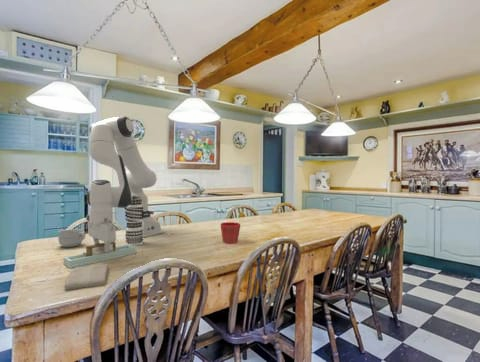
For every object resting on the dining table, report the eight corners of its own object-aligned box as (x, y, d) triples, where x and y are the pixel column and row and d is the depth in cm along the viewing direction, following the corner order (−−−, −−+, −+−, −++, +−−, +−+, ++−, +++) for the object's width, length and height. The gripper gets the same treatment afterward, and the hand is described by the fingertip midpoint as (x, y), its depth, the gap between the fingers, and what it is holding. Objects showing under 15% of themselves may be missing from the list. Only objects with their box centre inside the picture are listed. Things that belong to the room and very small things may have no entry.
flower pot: (241, 239, 153) (241, 222, 152) (239, 244, 142) (239, 225, 142) (222, 239, 154) (222, 221, 154) (218, 244, 143) (218, 225, 143)
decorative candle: (131, 246, 137) (130, 196, 137) (121, 243, 143) (120, 195, 142) (147, 243, 145) (146, 195, 144) (137, 240, 150) (136, 194, 150)
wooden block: (112, 252, 125) (112, 241, 124) (115, 253, 123) (115, 242, 122) (86, 257, 116) (86, 246, 116) (89, 259, 114) (89, 247, 114)
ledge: (127, 249, 132) (127, 243, 132) (136, 253, 127) (136, 246, 127) (63, 263, 112) (63, 256, 112) (70, 268, 106) (70, 260, 106)
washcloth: (108, 269, 107) (108, 261, 107) (106, 286, 91) (106, 277, 90) (73, 273, 102) (72, 265, 102) (64, 292, 86) (63, 283, 86)
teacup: (53, 247, 137) (53, 231, 137) (75, 242, 147) (75, 227, 146) (70, 250, 130) (70, 234, 130) (92, 245, 140) (91, 229, 140)
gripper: (119, 219, 115) (120, 252, 115) (99, 214, 128) (99, 244, 128) (104, 221, 110) (104, 255, 110) (84, 216, 123) (85, 246, 124)
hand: (101, 249), depth 119 cm, fingers open, 8 cm apart
